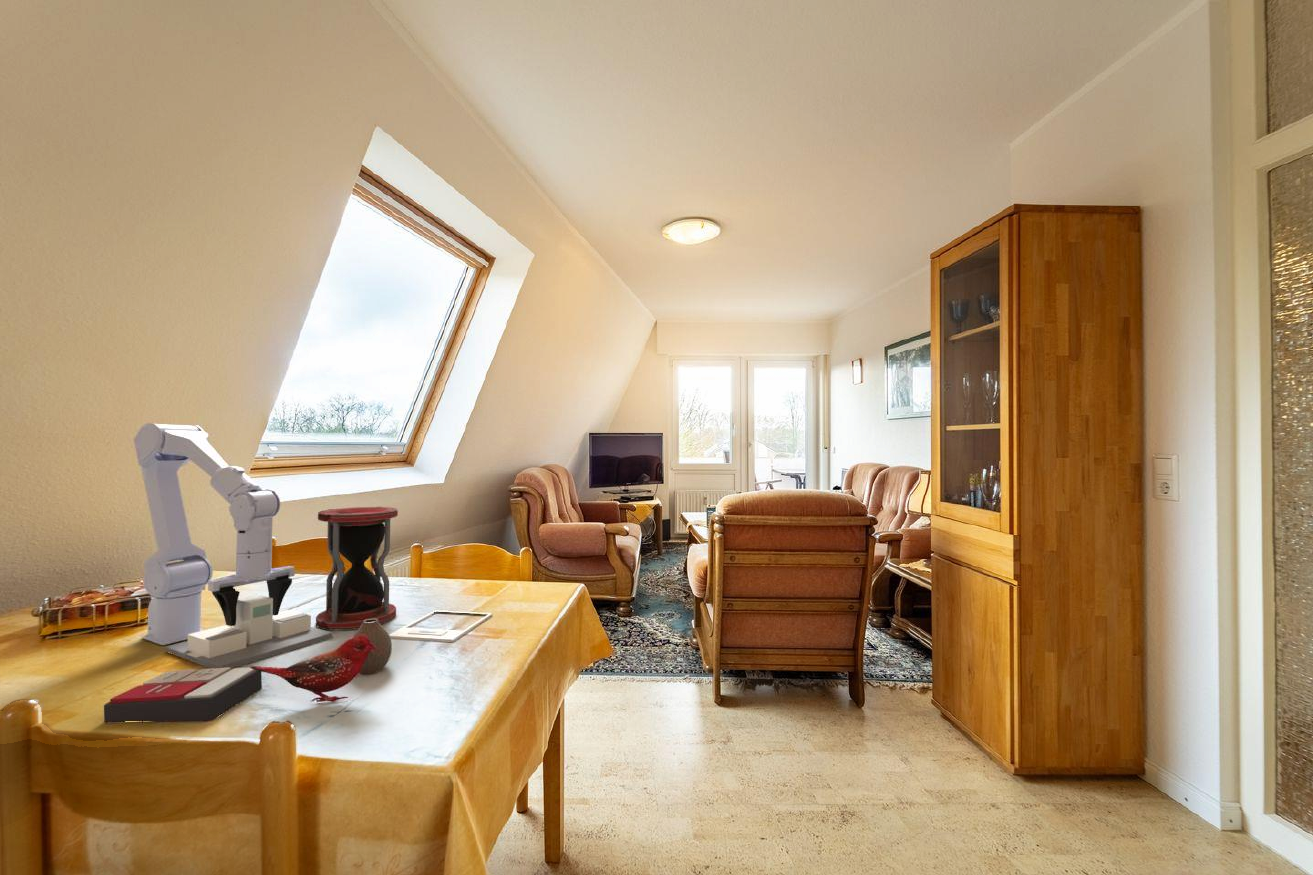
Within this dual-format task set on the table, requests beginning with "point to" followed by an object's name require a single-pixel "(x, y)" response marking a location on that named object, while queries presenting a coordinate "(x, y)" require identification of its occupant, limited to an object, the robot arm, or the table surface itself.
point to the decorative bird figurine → (326, 668)
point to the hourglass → (357, 567)
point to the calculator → (185, 696)
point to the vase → (380, 640)
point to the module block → (255, 617)
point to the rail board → (231, 648)
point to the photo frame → (434, 630)
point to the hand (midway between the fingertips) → (252, 619)
